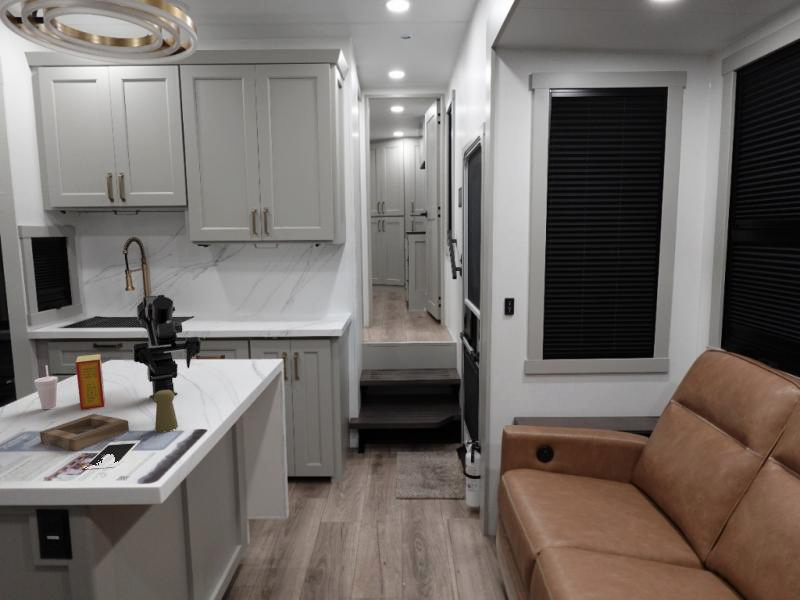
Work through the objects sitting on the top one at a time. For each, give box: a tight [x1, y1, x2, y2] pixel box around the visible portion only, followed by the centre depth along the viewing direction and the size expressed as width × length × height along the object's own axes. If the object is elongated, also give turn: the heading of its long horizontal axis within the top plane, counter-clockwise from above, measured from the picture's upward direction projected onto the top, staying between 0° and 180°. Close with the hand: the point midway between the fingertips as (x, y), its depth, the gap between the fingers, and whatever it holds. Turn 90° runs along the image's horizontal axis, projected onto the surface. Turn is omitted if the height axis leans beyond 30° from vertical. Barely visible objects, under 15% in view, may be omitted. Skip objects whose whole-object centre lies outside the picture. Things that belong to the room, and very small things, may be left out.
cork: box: [153, 390, 179, 433], centre depth 146 cm, size 6×6×11 cm
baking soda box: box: [75, 353, 106, 411], centre depth 168 cm, size 10×6×16 cm
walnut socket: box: [39, 413, 130, 452], centre depth 142 cm, size 15×15×3 cm
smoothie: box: [33, 364, 59, 410], centre depth 166 cm, size 6×6×14 cm
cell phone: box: [82, 440, 141, 469], centre depth 130 cm, size 8×16×1 cm, turn 8°
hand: (172, 369), depth 153 cm, fingers open, 9 cm apart
